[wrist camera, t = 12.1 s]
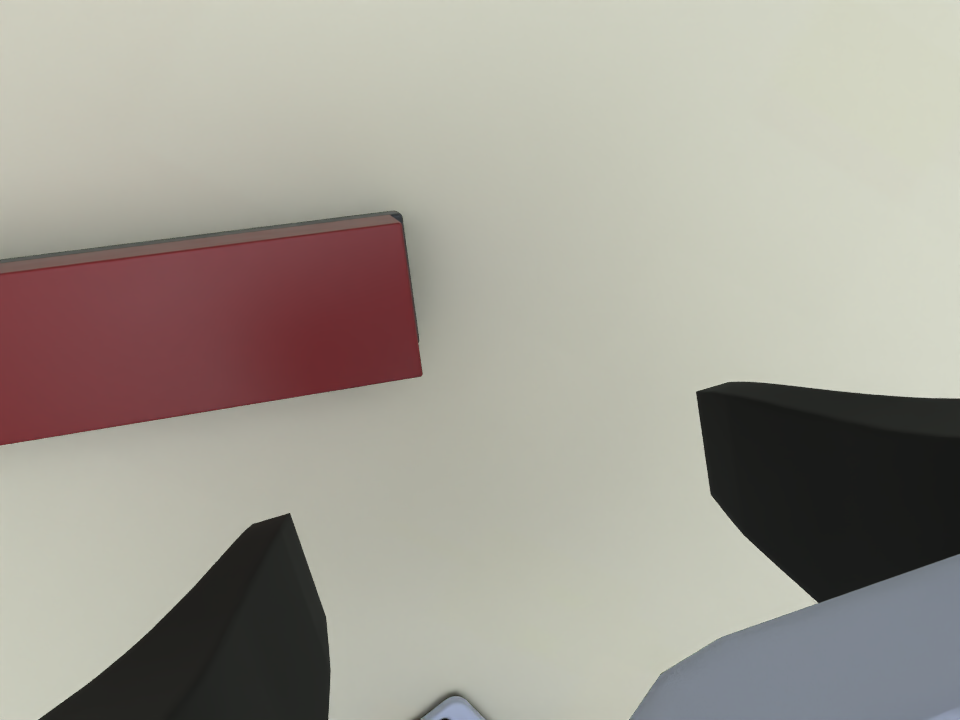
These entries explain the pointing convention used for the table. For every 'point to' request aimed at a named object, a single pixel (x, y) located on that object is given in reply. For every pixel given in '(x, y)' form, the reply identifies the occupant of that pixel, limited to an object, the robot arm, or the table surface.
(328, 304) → the red two-tone bar
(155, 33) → the table surface
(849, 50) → the table surface
